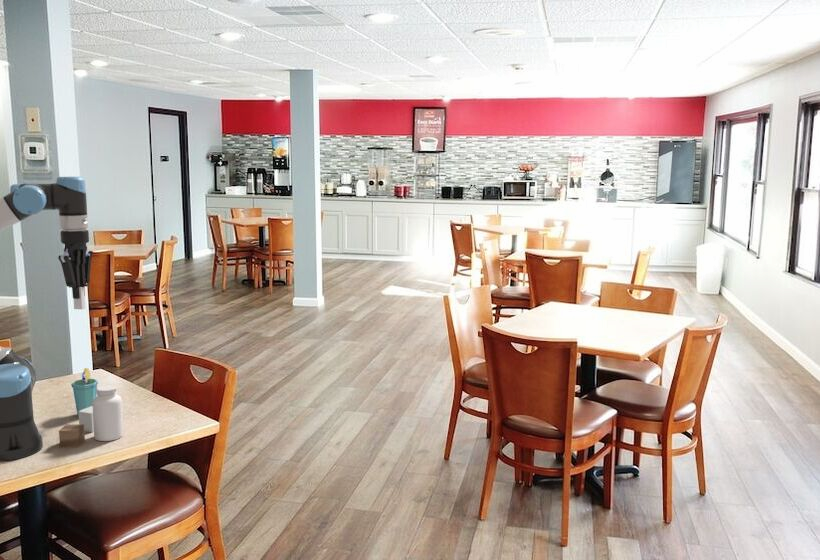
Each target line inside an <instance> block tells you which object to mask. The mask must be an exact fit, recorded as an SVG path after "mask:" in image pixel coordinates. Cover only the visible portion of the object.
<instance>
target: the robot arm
mask: <svg viewBox="0 0 820 560" xmlns="http://www.w3.org/2000/svg"><path fill="white" fill-rule="evenodd" d="M87 202H88V201H87V189H86V182H85V179H84V178H83V177H81V176H58V177H56V181H55V183H25V182H23V183H14V184H12V185H10V188H9V193H8V194H6V195H4V196H2V197H0V232H2V231H4V230H6V229H8V228H10V227H12V226H14V225H15V224H17V223H20V222H21V221H23V220H26V219H27V218H29V217H32V216H33V215H36V214H38V213H40V212H41V211H51V210H52V211H55V210H58V215H59V216H58V220H59V229H60V230H61V231H60V242H61V244H63V245H64V248H63V254H62V255H58V257H57V259H58V260H59V262H60V264H61V265H60V266H61V269H62V272H63V273H62V274H63V277H64V281H65V284H66V287H68V288H71V289H72V290H71V293H72V298H73V308H74V310H85V309H86V301H85V300H86V298H85V297H86V294H85V293H86V291H85V287H88V286H89V284H90V278H91V277H90V276H91V267H92V258H93V255H94V251H92V250H89V249H88V246H87V243H89V242H90V236H89V235H90V233H89V230H88V228H89V223H88V221H89V220H88V205H87ZM36 381H37V374H36V370H35V368H34V365H33V364H32V362H30V361H29V360H28V359H27V358H25V357H23V356H20V355H18V354H17V352H15V351H14V350H13V348H11V347H3V346H1V345H0V462H3V461H5V462H6V461H12V460H13V461H14V460H17V459H22V458H25V457H29V456H32V455H34V454H35V453H37V452H39V451H40V450H41V449H43V447H44V443H43V442H44V441H43V437H42V435H41V434H40V432H39V430H38V426H37V425H36V422H35V418H34V406H33V405H34V404H33V390H34V387H35V385H36Z"/></svg>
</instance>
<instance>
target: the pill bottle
mask: <svg viewBox="0 0 820 560" xmlns="http://www.w3.org/2000/svg"><path fill="white" fill-rule="evenodd" d="M92 404H93V423H94V432H93V436H94V439H95V441H100V442H109V441H110V442H111V441H115V440H118V439H120V438H122V437H123V435H124V420H123V418H124V417H123V399H122V396H120V395H119V394H117V387H116V385H112V384H111V385H110V384H107V385H100V386H97V394H96V397H95V398H94V400H93V403H92Z"/></svg>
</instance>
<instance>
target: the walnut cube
mask: <svg viewBox="0 0 820 560" xmlns="http://www.w3.org/2000/svg"><path fill="white" fill-rule="evenodd" d="M58 436H59V437H58V438H59V448H80V446H81V445H82V444H83V443H84V442H85V441H86V439H85V436H86V435H85V431H84V424H77V423H75V424H73V423H72V424H71V423H70V424H65V425H64V426H62V427H61V428H60V429H59V430H58Z"/></svg>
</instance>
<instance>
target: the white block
mask: <svg viewBox="0 0 820 560" xmlns="http://www.w3.org/2000/svg"><path fill="white" fill-rule="evenodd" d="M78 414H79V416H78V423H79V424H84V432H87V433H92V434H94V423H93V406H90V407H88V408H85V409H83V410H80V411H78Z"/></svg>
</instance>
